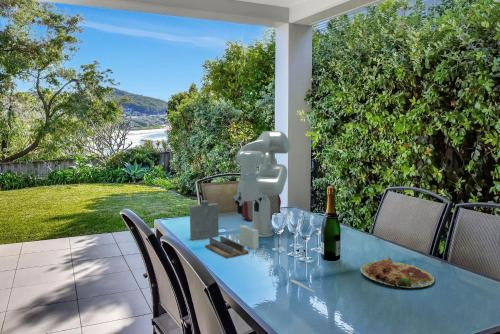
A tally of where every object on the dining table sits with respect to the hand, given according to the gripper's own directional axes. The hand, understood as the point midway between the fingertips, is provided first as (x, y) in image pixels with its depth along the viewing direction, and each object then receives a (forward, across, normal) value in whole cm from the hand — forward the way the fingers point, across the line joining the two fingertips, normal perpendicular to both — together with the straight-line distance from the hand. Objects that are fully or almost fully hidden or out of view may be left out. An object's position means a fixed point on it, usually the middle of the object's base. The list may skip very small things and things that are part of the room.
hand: (248, 212), depth 205 cm
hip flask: (+17, +10, -26) cm, 32 cm away
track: (+17, +12, 0) cm, 21 cm away
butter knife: (+18, +11, +60) cm, 63 cm away
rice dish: (+18, -26, +66) cm, 74 cm away
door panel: (+17, -1, 0) cm, 17 cm away
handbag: (+16, -41, -44) cm, 62 cm away
